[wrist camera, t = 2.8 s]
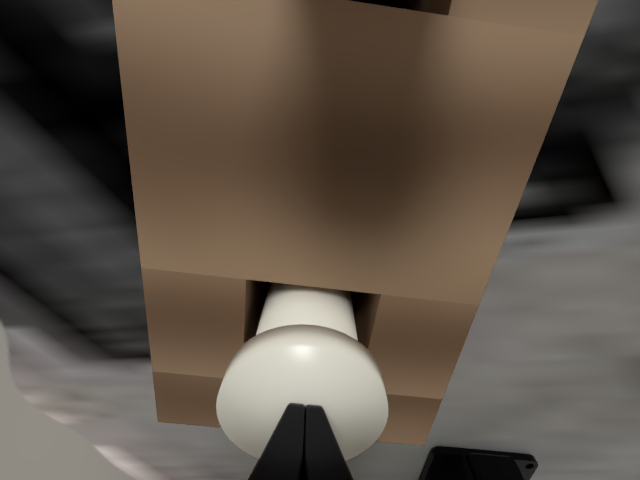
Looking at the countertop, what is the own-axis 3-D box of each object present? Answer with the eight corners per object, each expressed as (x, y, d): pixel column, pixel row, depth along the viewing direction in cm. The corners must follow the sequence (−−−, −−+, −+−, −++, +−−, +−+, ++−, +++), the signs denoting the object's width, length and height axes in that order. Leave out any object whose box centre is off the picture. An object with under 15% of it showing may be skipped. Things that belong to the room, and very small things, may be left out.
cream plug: (351, 330, 14) (370, 474, 9) (256, 320, 14) (216, 461, 9) (369, 244, 13) (406, 358, 7) (262, 231, 13) (215, 338, 7)
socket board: (396, 351, 17) (423, 445, 13) (202, 331, 17) (157, 421, 12) (558, -210, 9) (803, -523, 4) (188, -280, 9) (34, -712, 4)
